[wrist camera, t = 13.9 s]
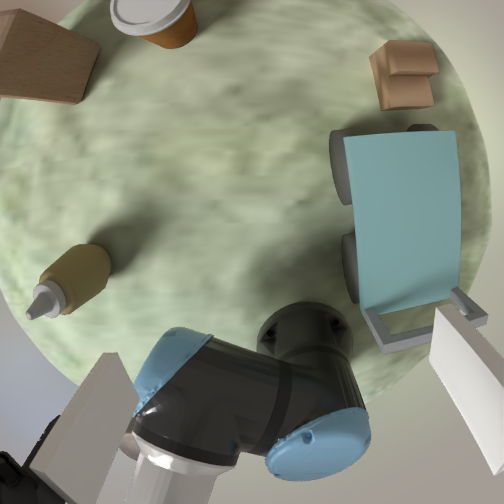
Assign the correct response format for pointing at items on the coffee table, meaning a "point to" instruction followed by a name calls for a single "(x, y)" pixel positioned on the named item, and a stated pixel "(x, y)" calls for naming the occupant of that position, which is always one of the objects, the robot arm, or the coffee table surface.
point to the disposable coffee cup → (156, 20)
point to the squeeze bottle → (71, 281)
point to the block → (43, 59)
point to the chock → (404, 74)
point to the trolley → (401, 225)
